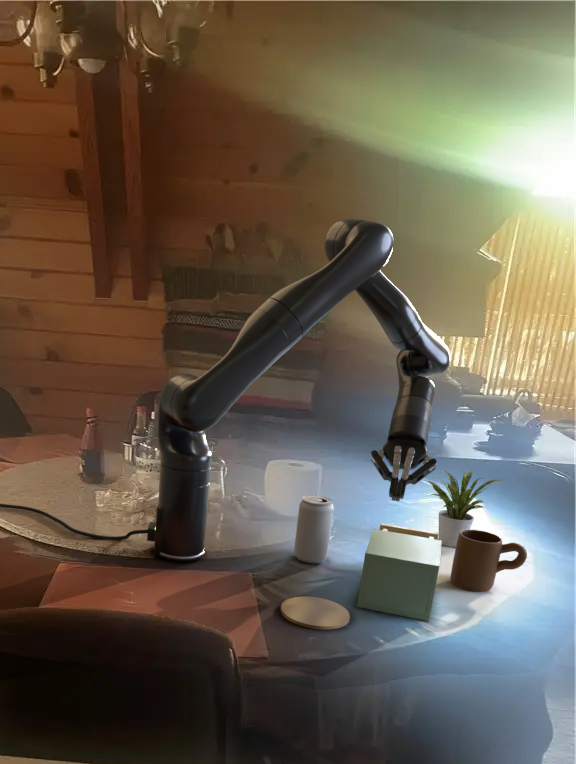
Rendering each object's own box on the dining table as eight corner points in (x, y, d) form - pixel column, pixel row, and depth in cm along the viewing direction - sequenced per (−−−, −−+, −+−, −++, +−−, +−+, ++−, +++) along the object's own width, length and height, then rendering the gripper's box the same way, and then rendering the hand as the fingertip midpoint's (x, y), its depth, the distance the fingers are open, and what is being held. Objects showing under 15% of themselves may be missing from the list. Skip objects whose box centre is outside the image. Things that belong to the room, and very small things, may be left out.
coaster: (283, 626, 116) (283, 623, 116) (278, 597, 127) (278, 593, 126) (354, 632, 116) (355, 629, 116) (343, 602, 126) (344, 599, 126)
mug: (517, 585, 140) (527, 537, 137) (520, 600, 133) (531, 550, 130) (449, 573, 143) (458, 526, 140) (449, 587, 136) (458, 538, 133)
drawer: (375, 559, 145) (381, 521, 142) (431, 569, 142) (438, 530, 139) (367, 584, 132) (373, 543, 130) (428, 596, 129) (436, 554, 127)
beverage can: (326, 566, 142) (334, 505, 138) (291, 562, 143) (299, 501, 139) (327, 555, 148) (335, 496, 144) (294, 550, 149) (301, 492, 145)
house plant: (475, 533, 168) (490, 462, 163) (502, 556, 155) (518, 479, 150) (412, 529, 167) (425, 458, 162) (433, 552, 154) (448, 474, 149)
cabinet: (366, 578, 138) (374, 528, 135) (432, 591, 134) (441, 540, 131) (356, 606, 125) (365, 552, 122) (429, 621, 122) (439, 566, 119)
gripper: (376, 409, 149) (360, 483, 142) (446, 417, 145) (433, 494, 138) (375, 430, 156) (360, 503, 148) (442, 439, 152) (430, 514, 144)
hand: (395, 498), depth 143 cm, fingers closed
